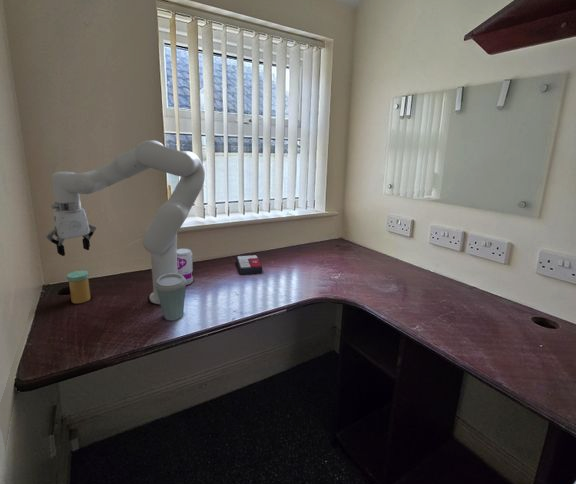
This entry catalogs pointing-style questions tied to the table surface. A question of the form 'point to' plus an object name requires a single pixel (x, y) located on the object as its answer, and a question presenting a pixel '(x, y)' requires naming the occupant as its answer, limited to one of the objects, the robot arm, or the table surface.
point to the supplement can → (185, 264)
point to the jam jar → (79, 291)
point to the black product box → (249, 264)
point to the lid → (77, 276)
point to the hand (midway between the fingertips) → (74, 251)
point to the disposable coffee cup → (171, 294)
